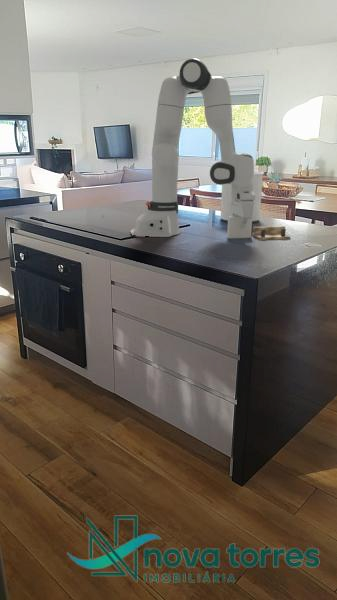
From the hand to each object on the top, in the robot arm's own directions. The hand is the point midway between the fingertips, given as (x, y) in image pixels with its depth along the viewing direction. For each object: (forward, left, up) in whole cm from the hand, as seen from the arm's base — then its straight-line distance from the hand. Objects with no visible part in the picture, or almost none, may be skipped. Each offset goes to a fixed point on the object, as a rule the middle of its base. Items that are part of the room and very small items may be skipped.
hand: (240, 226), depth 193 cm
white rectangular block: (0, 0, -5) cm, 5 cm away
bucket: (+13, +42, -5) cm, 44 cm away
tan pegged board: (+14, -1, -5) cm, 15 cm away
